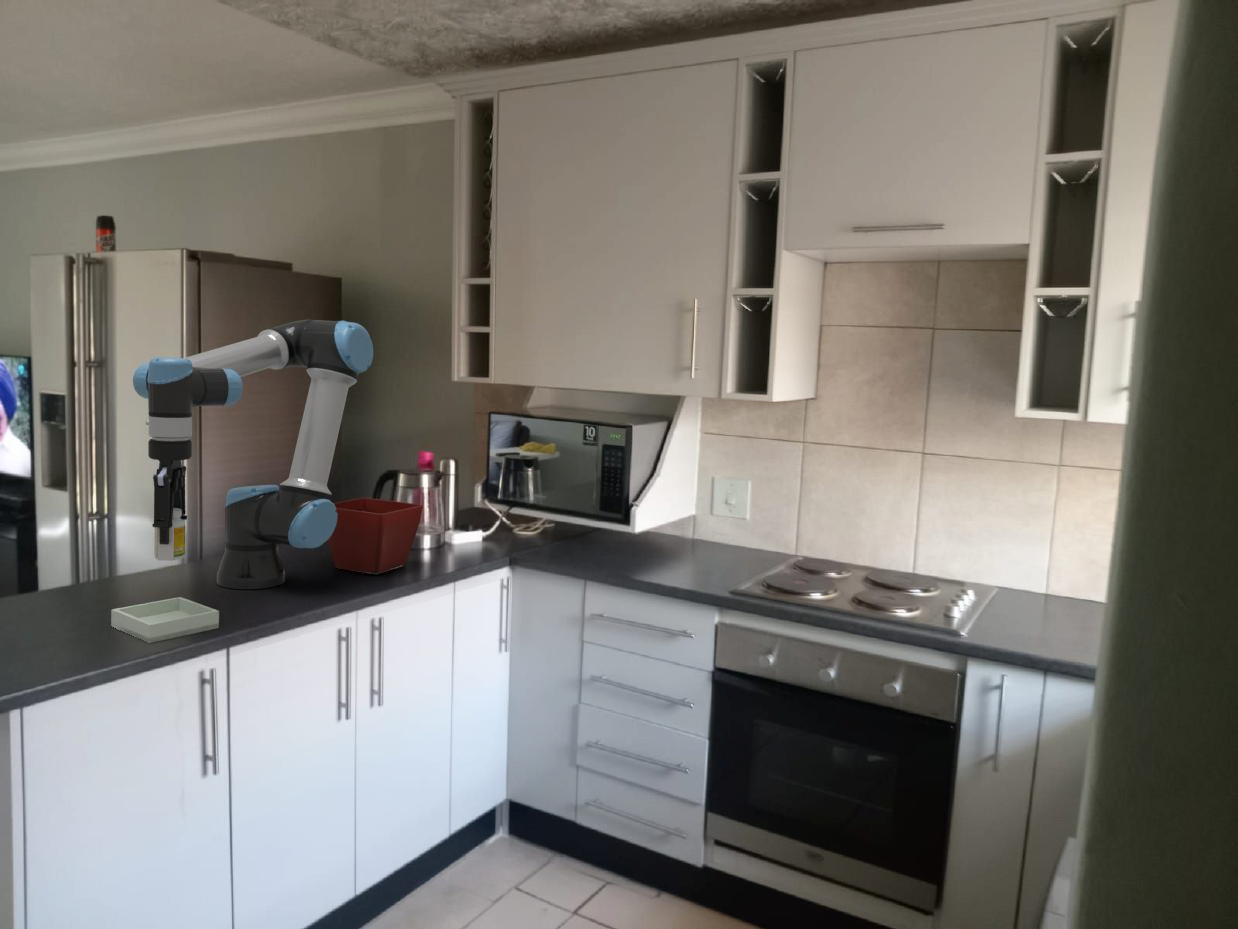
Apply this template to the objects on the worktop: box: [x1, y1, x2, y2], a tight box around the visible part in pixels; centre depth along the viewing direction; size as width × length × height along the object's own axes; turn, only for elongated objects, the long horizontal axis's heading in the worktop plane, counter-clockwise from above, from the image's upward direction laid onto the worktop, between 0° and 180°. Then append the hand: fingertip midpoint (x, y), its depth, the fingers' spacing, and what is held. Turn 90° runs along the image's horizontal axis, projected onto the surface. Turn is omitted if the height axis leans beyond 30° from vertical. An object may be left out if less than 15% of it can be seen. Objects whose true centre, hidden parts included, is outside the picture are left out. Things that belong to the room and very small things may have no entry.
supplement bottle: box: [154, 508, 186, 561], centre depth 179 cm, size 5×5×10 cm
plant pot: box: [326, 497, 424, 573], centre depth 238 cm, size 19×19×17 cm
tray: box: [110, 596, 220, 644], centre depth 181 cm, size 14×14×4 cm
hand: (170, 556), depth 179 cm, fingers closed on supplement bottle, 5 cm apart
